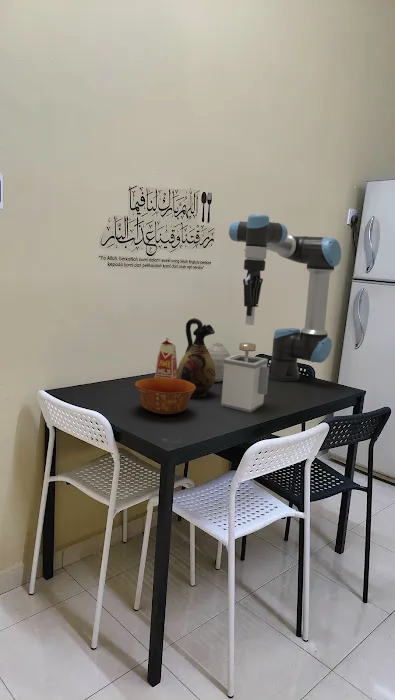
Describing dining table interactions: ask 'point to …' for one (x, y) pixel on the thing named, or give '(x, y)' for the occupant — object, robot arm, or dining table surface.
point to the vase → (218, 359)
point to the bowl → (165, 394)
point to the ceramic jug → (197, 360)
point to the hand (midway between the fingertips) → (249, 324)
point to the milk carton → (166, 361)
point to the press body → (244, 382)
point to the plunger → (247, 349)
